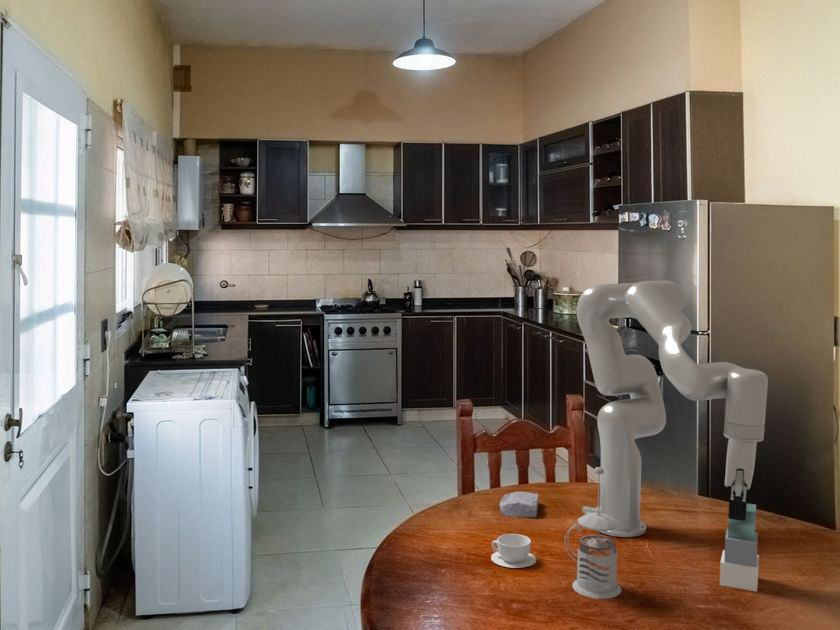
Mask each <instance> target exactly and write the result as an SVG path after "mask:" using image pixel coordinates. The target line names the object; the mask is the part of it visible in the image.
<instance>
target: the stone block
mask: <svg viewBox="0 0 840 630" xmlns="http://www.w3.org/2000/svg"><path fill="white" fill-rule="evenodd" d="M538 507H539V493H533V492H528V491H514V492H509V493H506V494H504V495H503V497H502V498H501V500H500V503H499V509H500V512H501V513H503V514H502V515H503V516H504V515H505V516H504V517H508V516H516V517H515V518H524V517H533V518H532V519H535V518H534V517H537V514H538ZM517 516H519V517H517ZM520 516H522V517H520Z"/></svg>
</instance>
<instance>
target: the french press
mask: <svg viewBox="0 0 840 630" xmlns="http://www.w3.org/2000/svg"><path fill="white" fill-rule="evenodd" d="M593 473H594V474H596V475H598V478H597V479H598V480H597V481H598V482H597V483H598V484H597V485H598V487H597V489H598V490H597V507H598V513H589V514H586V515H585V514H583V515H582V516H580V517H579V518H577V523H576V524H574V525H572V526H571V527H570V528H568V530H567V531H566V533H565V535H564V547H565V550H566V553H567V554H568V556H569V557H570V558H571V559H573V561H575V562H576V579H575V580H574V581H573V583H572V585H571V586H572V589H573V590H574V592H576V593H578V594H579V595H582V596H585V597H586V598H592V599H598V600H599V599H611V598H616V597H618V596H619V595H620V594H622V593H621V592H622V588H621V586H620V585H619V583H617V578H618V577H617V575H618V574H617V573H618V572H617V571H618V570H617V569H618V563H617V562H618V548H616V544H617V542H616V541H615V540H614V539H613V538H611V537H609V536H605V535H599V531H610V530H614V529H616V528H617V527H618V525H619V523H618V522H617V520H615V519H614V518H613V517H610V516H608V515H606V514H602V513H599V506H600V479H601V474H604V470H603V469H602V468H601V466H597V467H595V468H594V471H593ZM582 527H583V528H584V529H588V530H591V531H597V534H589V535H584V536H582V537H580V538H579V543H580V545H578V546H577V554H576V553H575V552H574V551H573V550H572V548H571V545H570V533H571V531H572V529H574V528H576V529H577V533H578V534H579V533H580V532H581V531H582ZM566 542H567V543H566ZM567 545H568V547H567ZM568 548H569V550H570V552H571V553H572V554H573V555H574V556H575V557H576V558H577V559H575V558H574V557H573V556H572V555H571V554H570V553H569V550H568ZM607 552H608V553H609V554H610V555H609V554H608V553H607ZM598 553H599V554H600V555H592V554H598ZM601 555H603V556H601ZM589 562H590V563H589ZM605 569H606V570H605Z"/></svg>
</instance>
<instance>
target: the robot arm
mask: <svg viewBox="0 0 840 630" xmlns="http://www.w3.org/2000/svg"><path fill="white" fill-rule="evenodd" d="M685 306H686V295H685V292H684V289H683V288H682V287H681V286H680V285H679V284H678V283H676V282H675V281H672V280H666V279H665V280H664V279H663V280H644V281H639V282H632V283H631V282H628V283H627V282H626V283H623V282H622V283H602V284H597V285H593V286H590V287H588V288H586V289H585V290H584V291H583V292H582V293H581V294H580V296H579V297H578V300H577V305H576V319H577V323H578V325H579V329H580V330H581V333H582V336H583V339H584V341H585V345H586V349H587V354H588V359H589V362H590V368H591V371H592V375H593V380H594V384H595V386H596V389H597V391H598V392H599V393H600V394H601V395H603V396H620V395H621V396H622V395H629V397H630V398H628V399H627V398H626V399H621V400H620V399H619V400H615V401H611V402H608V403H606V404H605V405H603V406H602V407H601V408H600V409H599V412H598V414H597V417H596V418H597V419H596V421H597V429H598V435H599V442H600V467H601V468H602V469H603V470H604V474H600V479H599V513H602V514H606V515H608V516H610V517H613V518H614V519H615V520H617V522H618V523H619V525H618V527H617V528H616V529H614V530H610V531H598V533H601V534H604V535H606V536H607V535H608V536H611V537H616V538H617V537H619V538H632V537H633V538H634V537H639V536H642V535H643V534H646V532H647V525H646V523H645V522H644V521H642V520H640V519H641V491H642V489H641V485H642V456H641V452H640V449H639V447H638V446H637V444H636V441H635V440H636V439H639V438H644V437H651V436H655V435H657V434H659V433H661V432H662V431H664V428H665V426H666V424H667V414H666V413H667V411H666V408H665V407H666V406H665V403H664V399H663V395H662V391H661V387H660V381H659V379H658V375H657V372H656V369H655V367H654V365H653V363H652V362H651V361H650V360H649V359H648V358H647V357H646V356H644V355H641V354H626V353H625V350H624V347H623V342H622V338H621V336H620V334H619V332H618V330H617V329H616V327H615V326H614V325H613V324H612V323H611V322H610V319H623V318H626V319H627V318H635V319H636V320H637V321H638V323H639V324H640V325H641V326H642V327H643V328H644V329H645V330H646V332H647V333H648V334H649V335H650V336H651V338H652V339H653V341H655V342H656V344H657V345H658V359H659V362H660V363H659V364H660V366H661V369H662V372H663V374H664V376H665V377H666V378H667V380H668V381H669V382H670V383H671V384H672V385H673V386H674V388H675V389H676V390H677V391H678V392H679V393H680V394H681V395H683V396H684V397H685V398H687V399H688V400H691V401H695V402H700V401H708V400H713V399H714V400H715V399H716V400H717V399H725V409H724V411H725V412H724V422H723V423H724V424H723V426H724V427H723V436H724V437H725V438H727V439H728V441H727V447H726V449H727V451H726V461H725V463H726V464H725V478H724V486H725V487H726V488H728V487H731V494H730V498H729V499H728V500H729V502H728V513H727V514H728V519H729V518H730V519H735V520H741V521H745V519H746V507H747V504H748V501H749V500H748V499H749V490H750V489H751V487H752V486H751V485H752V482H753V477H754V471H755V463H756V455H757V454H756V453H757V443H760V442H763V441H764V437H765V424H766V413H767V412H766V410H767V398H768V388H769V387H768V386H769V379H768V375H767V374H766V373H765V372H763V371H760V370H758V369H753V368H745V367H742V366H740V365H737V364H735V363H732V362H728V361H716V362H708V363H698V364H697V363H696V362H695V361H694V360H693V359H692V358H691V357H690V356H689V354H688V353H687V352H686V351H685V349H684V348H683V346H682V343H684V342H685V340H686V339H687V338H688V337H689V336H690V334H691V332H692V329H693V328H692V322H691V321H690V319H689V318H688V317H687V316H686V315H685V314H684V313H683V312H682V311H683V309H684V308H685ZM581 510H582V514H583V515H586V514H589V513H598V506H595V507H591V506H585V505H582V509H581Z"/></svg>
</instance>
